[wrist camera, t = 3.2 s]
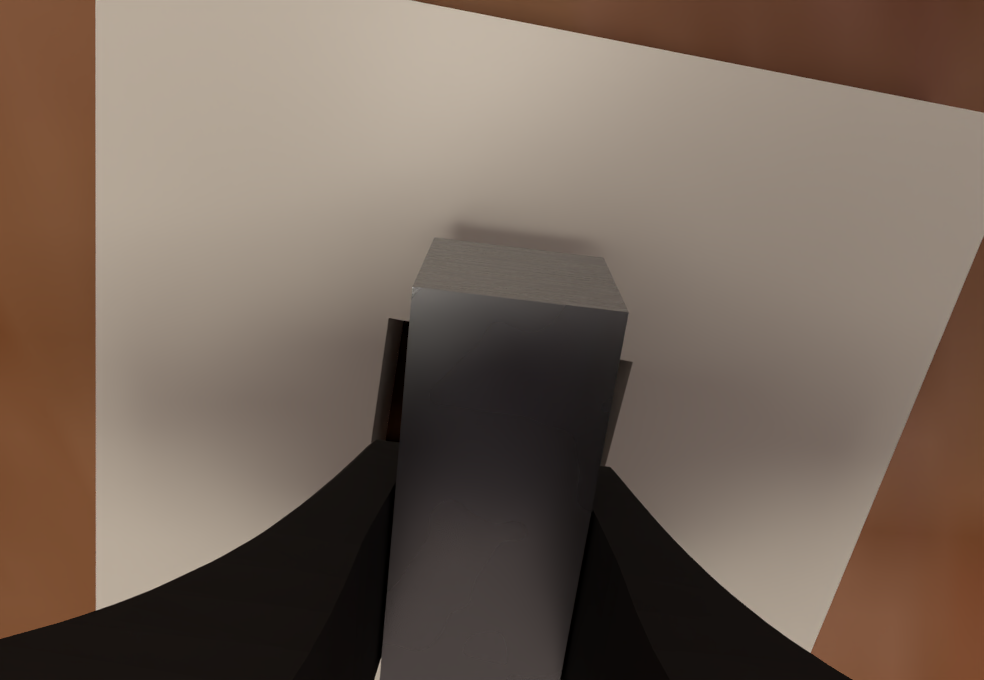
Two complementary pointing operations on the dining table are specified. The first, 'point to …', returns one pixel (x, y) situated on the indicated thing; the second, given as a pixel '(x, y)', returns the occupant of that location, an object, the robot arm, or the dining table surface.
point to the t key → (497, 459)
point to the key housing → (517, 223)
